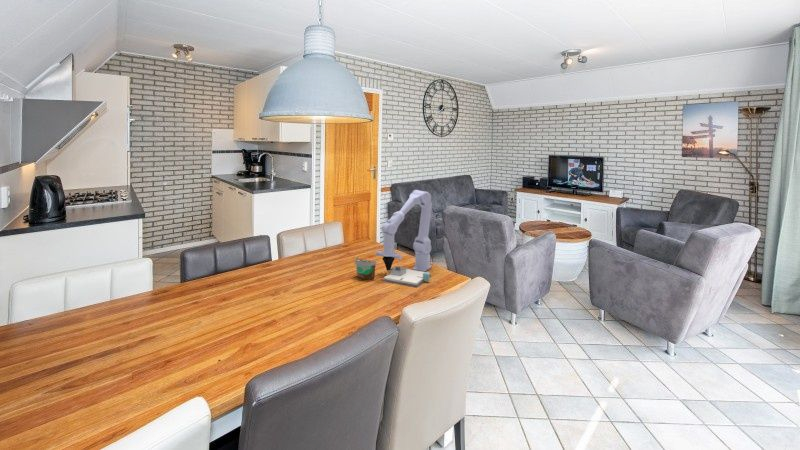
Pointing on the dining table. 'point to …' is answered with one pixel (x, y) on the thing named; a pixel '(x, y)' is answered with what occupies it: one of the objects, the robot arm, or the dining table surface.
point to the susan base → (404, 283)
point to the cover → (397, 271)
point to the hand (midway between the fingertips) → (388, 270)
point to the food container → (365, 269)
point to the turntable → (410, 277)
